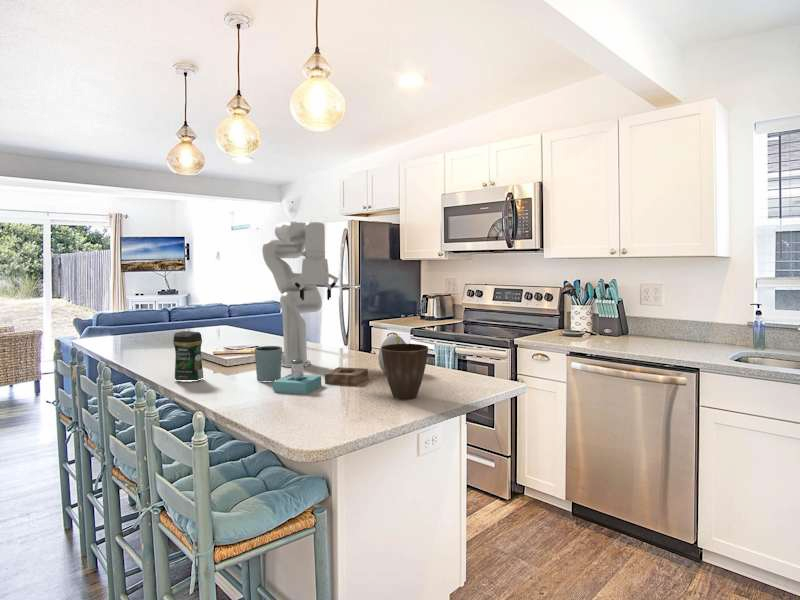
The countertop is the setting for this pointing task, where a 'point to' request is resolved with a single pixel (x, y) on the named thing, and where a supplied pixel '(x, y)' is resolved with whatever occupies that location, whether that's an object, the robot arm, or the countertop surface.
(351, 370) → the mount block
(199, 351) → the coffee jar
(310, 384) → the socket block
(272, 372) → the grey-blue cup
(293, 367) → the pin
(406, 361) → the plant pot
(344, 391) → the countertop surface
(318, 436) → the countertop surface
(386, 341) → the decorative egg
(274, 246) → the robot arm
